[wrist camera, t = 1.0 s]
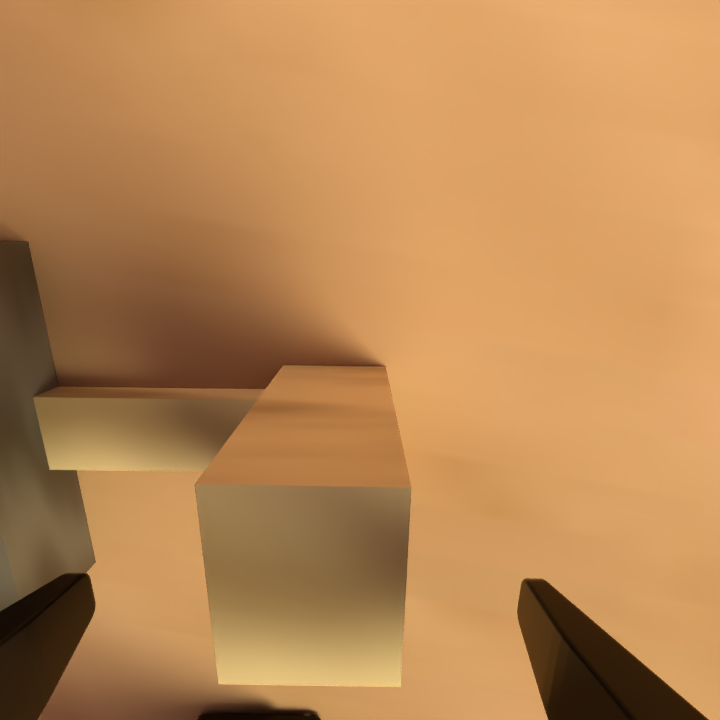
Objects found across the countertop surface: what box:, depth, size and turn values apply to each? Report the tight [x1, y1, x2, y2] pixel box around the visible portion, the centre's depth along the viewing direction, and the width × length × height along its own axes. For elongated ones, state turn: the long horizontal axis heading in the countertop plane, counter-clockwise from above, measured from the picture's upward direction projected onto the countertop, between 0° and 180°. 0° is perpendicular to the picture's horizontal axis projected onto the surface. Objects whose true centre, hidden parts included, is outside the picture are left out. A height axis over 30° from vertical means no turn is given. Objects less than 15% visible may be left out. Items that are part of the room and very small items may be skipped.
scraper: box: [0, 241, 411, 687], centre depth 11 cm, size 14×15×8 cm
